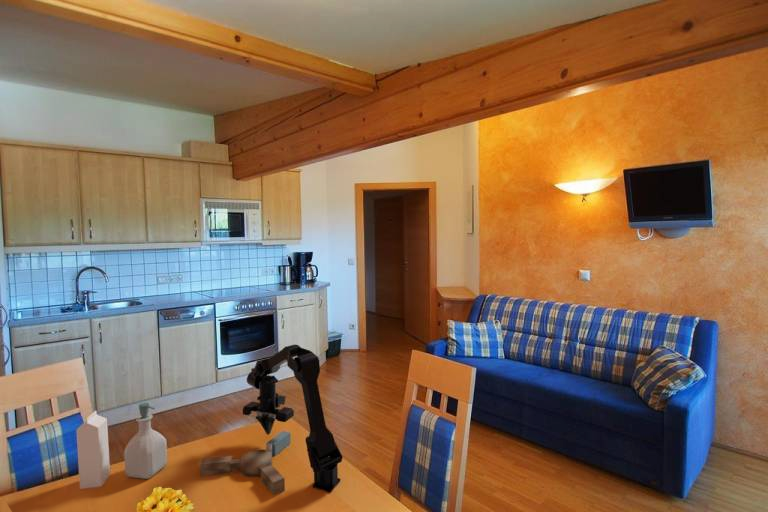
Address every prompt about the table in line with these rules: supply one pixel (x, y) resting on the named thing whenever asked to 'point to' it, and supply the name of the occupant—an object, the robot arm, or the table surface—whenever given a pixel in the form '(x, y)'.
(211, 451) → the table surface
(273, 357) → the robot arm
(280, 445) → the grey long block
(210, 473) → the wooden three-arm spinner
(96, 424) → the milk
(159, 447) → the soap bottle
